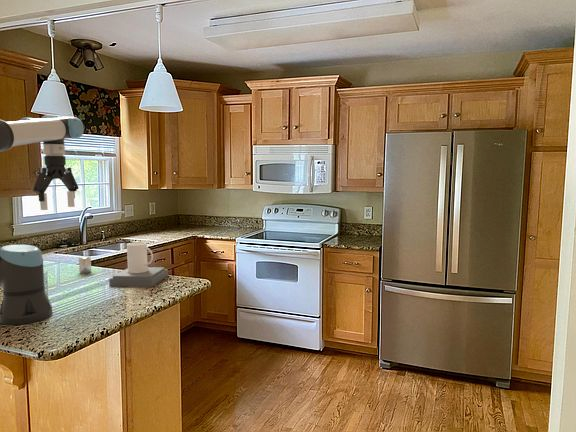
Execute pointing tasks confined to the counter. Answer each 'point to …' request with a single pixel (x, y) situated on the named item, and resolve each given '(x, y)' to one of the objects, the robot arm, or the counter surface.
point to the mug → (138, 257)
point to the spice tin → (84, 265)
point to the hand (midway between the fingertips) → (58, 208)
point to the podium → (139, 277)
